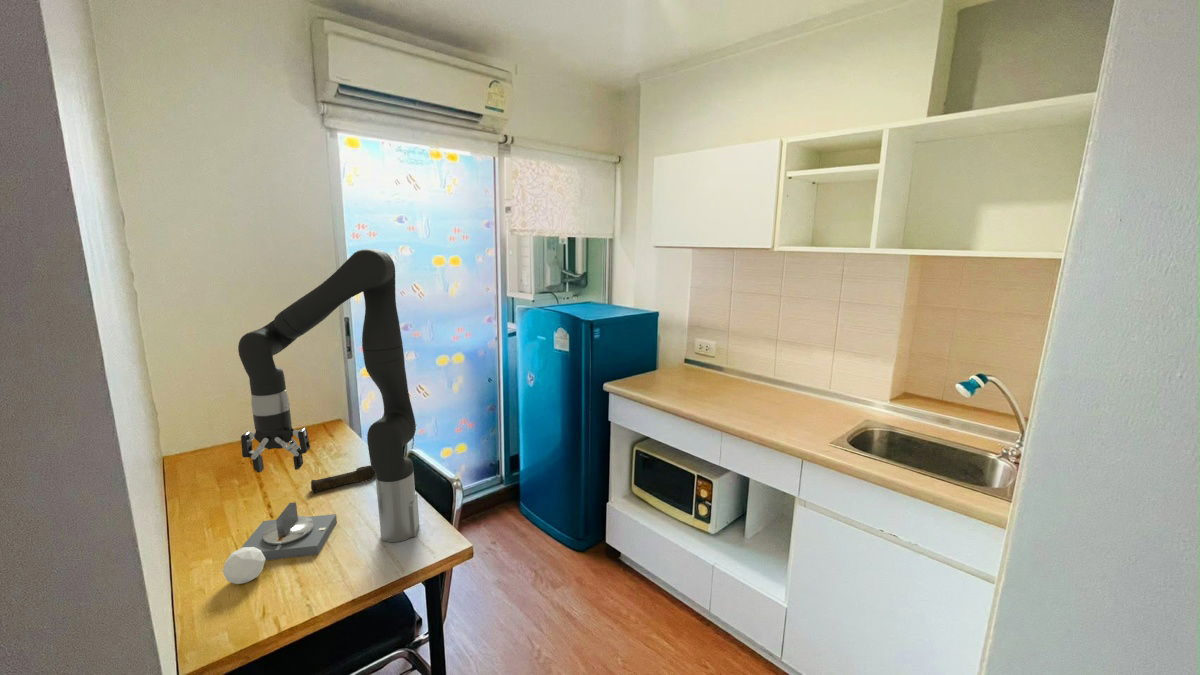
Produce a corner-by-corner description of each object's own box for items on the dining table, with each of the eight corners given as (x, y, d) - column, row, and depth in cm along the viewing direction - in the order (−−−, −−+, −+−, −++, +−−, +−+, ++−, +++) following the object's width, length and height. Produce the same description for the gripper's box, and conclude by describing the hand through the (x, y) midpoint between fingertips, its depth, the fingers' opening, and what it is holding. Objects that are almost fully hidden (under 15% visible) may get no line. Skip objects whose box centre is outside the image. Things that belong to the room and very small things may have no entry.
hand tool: (311, 495, 145) (310, 482, 144) (311, 489, 149) (310, 476, 148) (379, 481, 155) (378, 467, 154) (377, 475, 158) (376, 462, 157)
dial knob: (320, 517, 129) (317, 497, 128) (304, 542, 119) (301, 521, 117) (275, 521, 127) (272, 501, 126) (254, 547, 116) (251, 525, 115)
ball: (253, 592, 109) (249, 581, 104) (217, 583, 108) (210, 571, 103) (274, 559, 115) (271, 547, 110) (240, 550, 114) (235, 537, 108)
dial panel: (336, 522, 132) (335, 513, 131) (318, 554, 118) (317, 544, 118) (264, 529, 128) (263, 520, 128) (237, 563, 115) (235, 553, 114)
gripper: (230, 416, 111) (239, 479, 114) (297, 412, 114) (304, 474, 117) (246, 405, 118) (255, 465, 122) (309, 402, 121) (316, 460, 125)
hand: (279, 469), depth 120 cm, fingers open, 8 cm apart
